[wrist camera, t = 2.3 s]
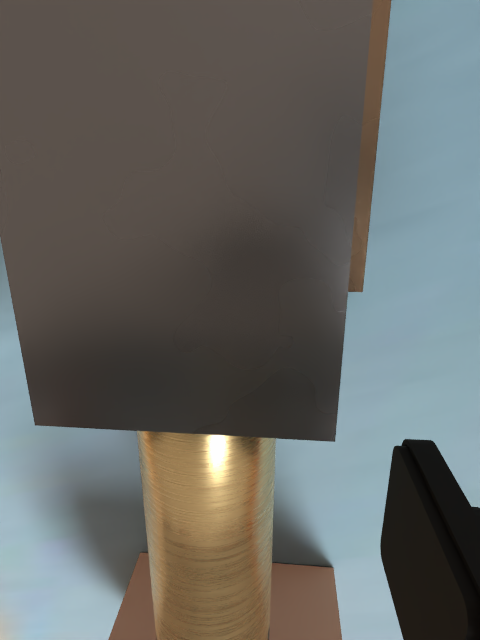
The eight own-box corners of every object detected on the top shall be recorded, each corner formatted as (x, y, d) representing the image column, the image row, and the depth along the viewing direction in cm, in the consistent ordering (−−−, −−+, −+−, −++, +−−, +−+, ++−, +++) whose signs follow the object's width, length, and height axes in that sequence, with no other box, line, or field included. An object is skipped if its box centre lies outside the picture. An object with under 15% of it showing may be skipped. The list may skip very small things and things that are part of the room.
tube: (127, -40, 8) (46, -142, 5) (291, -46, 8) (295, -157, 5) (172, 592, 14) (144, 704, 11) (270, 600, 13) (267, 717, 11)
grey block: (98, -44, 12) (-225, -393, 4) (372, -55, 11) (551, -485, 4) (128, 288, 15) (-29, 422, 7) (343, 294, 14) (409, 445, 7)
